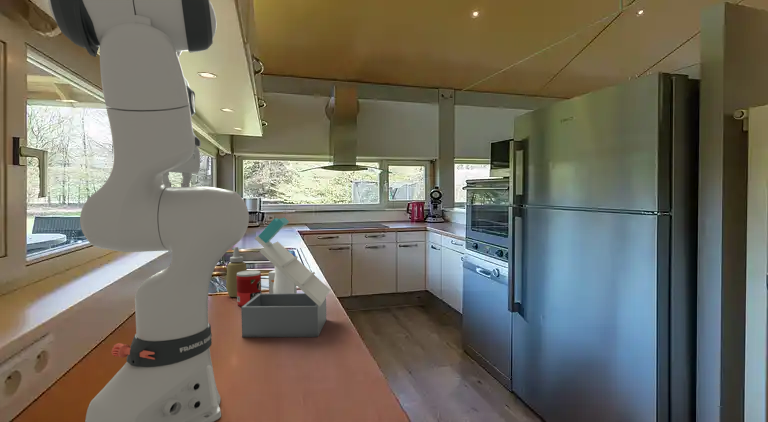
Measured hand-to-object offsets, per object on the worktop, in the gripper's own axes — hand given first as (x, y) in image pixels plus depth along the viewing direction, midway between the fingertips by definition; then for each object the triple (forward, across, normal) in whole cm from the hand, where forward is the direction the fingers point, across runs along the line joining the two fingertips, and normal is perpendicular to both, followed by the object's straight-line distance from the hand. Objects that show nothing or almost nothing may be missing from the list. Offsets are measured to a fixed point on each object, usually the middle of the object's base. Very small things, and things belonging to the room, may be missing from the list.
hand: (176, 189), depth 107 cm
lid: (+22, +2, -30) cm, 37 cm away
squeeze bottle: (+39, +38, -1) cm, 55 cm away
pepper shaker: (+39, +22, -23) cm, 50 cm away
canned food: (+39, +26, -10) cm, 48 cm away
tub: (+39, +2, -28) cm, 48 cm away
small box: (+39, +31, -20) cm, 54 cm away
